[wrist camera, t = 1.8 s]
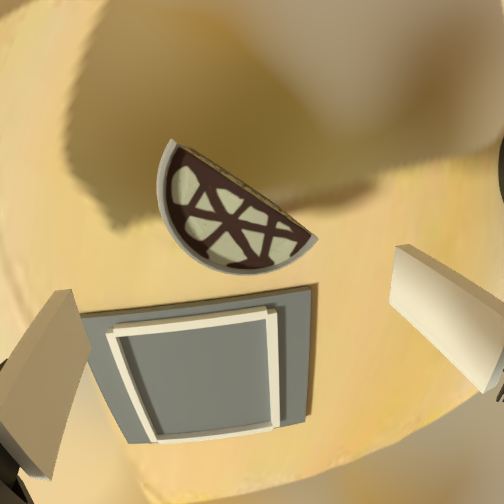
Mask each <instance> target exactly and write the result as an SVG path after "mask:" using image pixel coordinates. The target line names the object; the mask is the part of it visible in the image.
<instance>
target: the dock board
mask: <svg viewBox="0 0 504 504" xmlns="http://www.w3.org/2000/svg"><path fill="white" fill-rule="evenodd" d="M310 316H311V289H310V288H309V287H308V286H304V287H298V288H291V289H285V290H278V291H271V292H265V293H258V294H251V295H244V296H237V297H229V298H222V299H214V300H206V301H199V302H191V303H182V304H174V305H165V306H157V307H148V308H138V309H129V310H119V311H109V312H98V313H87V314H80V317H81V320H82V323H83V326H84V329H85V332H86V334H87V337H88V340H89V342H90V345H91V347H92V348H91V351H90V354H89V356H88V359H87V361H88V364H89V366H90V368H91V371H92V373H93V375H94V377H95V380H96V382H97V384H98V386H99V388H100V390H101V393H102V395H103V397H104V399H105V401H106V403H107V405H108V407H109V409H110V411H111V413H112V415H113V416H114V418H115V420H116V422H117V424H118V426H119V428H120V430H121V431H122V433H123V435H124V437H125V438H126V440H127V442H128V444H139V443H159V444H170V443H184V442H195V441H205V440H214V439H222V438H229V437H236V436H243V435H249V434H255V433H260V432H266V431H271V430H273V429H274V428H279V427H284V426H289V425H293V424H298V423H302V422H305V417H306V403H307V387H308V368H309V346H310Z"/></svg>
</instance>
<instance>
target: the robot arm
mask: <svg viewBox="0 0 504 504" xmlns="http://www.w3.org/2000/svg"><path fill="white" fill-rule="evenodd" d="M499 185H500V191H501V196H502V199H503V202H504V139H503V142H502V146H501V151H500V157H499ZM389 304H390V305H391V306H393V307H394V308H395V309H396V310H397V311H398V312H399V313H400V314H401V315H402V316H403V317H405V318H406V319H407V320H408V321H409V322H410V323H411V324H412V325H413V326H414V327H415V328H416V329H417V330H418V331H419V332H421V333H422V334H423V335H424V336H425V337H426V338H427V339H428V340H429V341H430V342H431V343H432V344H433V345H434V346H435V347H436V348H437V349H438V350H439V351H440V352H441V353H442V354H443V355H445V356H446V357H447V358H448V359H449V360H450V361H451V362H452V363H453V364H454V365H455V366H456V367H457V368H458V369H459V370H460V371H461V372H462V373H463V374H464V375H465V376H466V377H467V378H468V379H469V380H470V381H471V382H472V383H473V384H474V385H475V386H476V387H477V388H478V389H479V390H480V391H481V393H485V392H487V391H488V390H490V389H491V388H493V387H495V386H496V385H497V383H498V381H499V379H500V376H501V374H502V372H504V302H502V301H501V300H499V299H498V298H496V297H495V296H493V295H492V294H490V293H489V292H487V291H486V290H484V289H483V288H481V287H480V286H478V285H476V284H475V283H473V282H472V281H470V280H469V279H467V278H465V277H464V276H462V275H461V274H459V273H457V272H456V271H454V270H452V269H451V268H449V267H447V266H446V265H444V264H442V263H441V262H439V261H437V260H436V259H434V258H432V257H431V256H429V255H427V254H426V253H424V252H422V251H420V250H419V249H417V248H415V247H413V246H412V245H410V244H407V245H400V246H395V257H394V266H393V275H392V283H391V291H390V298H389ZM91 348H92V347H91V345H90V342H89V340H88V337H87V334H86V332H85V329H84V326H83V323H82V320H81V317H80V314H79V311H78V308H77V305H76V302H75V299H74V296H73V293H72V289H68V290H59V291H55V292H54V293H53V294H52V296H51V297H50V298H49V300H48V301H47V302H46V304H45V305H44V307H43V308H42V309H41V311H40V312H39V313H38V315H37V316H36V318H35V319H34V321H33V322H32V323H31V325H30V326H29V328H28V329H27V331H26V332H25V334H24V335H23V337H22V338H21V340H20V341H19V343H18V344H17V346H16V347H15V349H14V350H13V352H12V353H11V355H10V357H9V358H8V359H6V360H5V361H4V362H2V363H1V364H0V504H34V502H33V500H32V498H31V497H30V495H29V493H28V491H27V489H26V487H25V485H24V483H23V481H22V480H21V479H20V477H19V476H18V475H17V474H18V471H19V468H20V467H21V468H22V469H23V470H24V471H25V472H26V473H27V474H28V476H29V477H31V478H35V479H41V480H47V481H51V480H52V476H53V471H54V467H55V463H56V459H57V455H58V451H59V447H60V444H61V440H62V436H63V433H64V429H65V425H66V422H67V419H68V415H69V412H70V409H71V406H72V403H73V400H74V397H75V394H76V391H77V388H78V384H79V382H80V378H81V376H82V373H83V370H84V367H85V365H86V362H87V359H88V356H89V354H90V351H91ZM503 394H504V384H503V386H502V388H501V390H500V392H499V394H498V396H497V400H496V401H497V402H499V400H500V398H501V397H502V395H503ZM503 402H504V399H503Z"/></svg>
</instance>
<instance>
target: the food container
mask: <svg viewBox="0 0 504 504" xmlns="http://www.w3.org/2000/svg"><path fill="white" fill-rule="evenodd" d="M157 199H158V206H159V209H160V213H161V216H162V219H163V221H164V223H165V225H166V227H167V229H168V231H169V233H170V234H171V236H172V237H173V239H174V240H175V241H176V243H177V244H178V245H179V247H180V248H181V249H183V250H184V251H185V252H186V253H187V254H188V255H189V256H190V257H191V258H193V259H194V260H196V261H197V262H199V263H200V264H202V265H204V266H206V267H208V268H210V269H212V270H215V271H219V272H222V273H225V274H232V275H259V274H266V273H269V272H273V271H276V270H279V269H281V268H283V267H285V266H287V265H290V264H291V263H293V262H294V261H296V260H297V259H299V258H300V257H302V256H303V255H304V254H305V253H306V252H307V251H309V250H310V249H311V248H312V247H313V245H314V244H315V243H316V242H317V241H318V240H319V239H318V238H317V237H316V236H315V235H314V234H313V233H311V232H310V231H308V230H307V229H306V228H305V227H303V226H302V225H301V224H300V223H298V222H297V221H296V220H295V219H293V218H292V217H291V216H290V215H288V214H287V213H286V212H285V211H283V210H282V209H281V208H280V207H278V206H277V205H276V204H274V203H273V202H272V201H270V200H269V199H267V198H266V197H264V196H263V195H262V194H260V193H259V192H257V191H256V190H254V189H253V188H251V187H250V186H248V185H247V184H245V183H244V182H243V181H241V180H239V179H238V178H236V177H235V176H234V175H232V174H231V173H229V172H228V171H226V170H225V169H223V168H222V167H220V166H218V165H217V164H215V163H214V162H212V161H211V160H209V159H208V158H206V157H205V156H203V155H201V154H200V153H199V152H197V151H195V150H194V149H192V148H190V147H188V146H185V145H182V144H179V143H176V142H175V141H174V140H173V139H170V141H169V143H168V145H167V147H166V148H165V150H164V153H163V155H162V158H161V161H160V164H159V170H158V175H157Z"/></svg>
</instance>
